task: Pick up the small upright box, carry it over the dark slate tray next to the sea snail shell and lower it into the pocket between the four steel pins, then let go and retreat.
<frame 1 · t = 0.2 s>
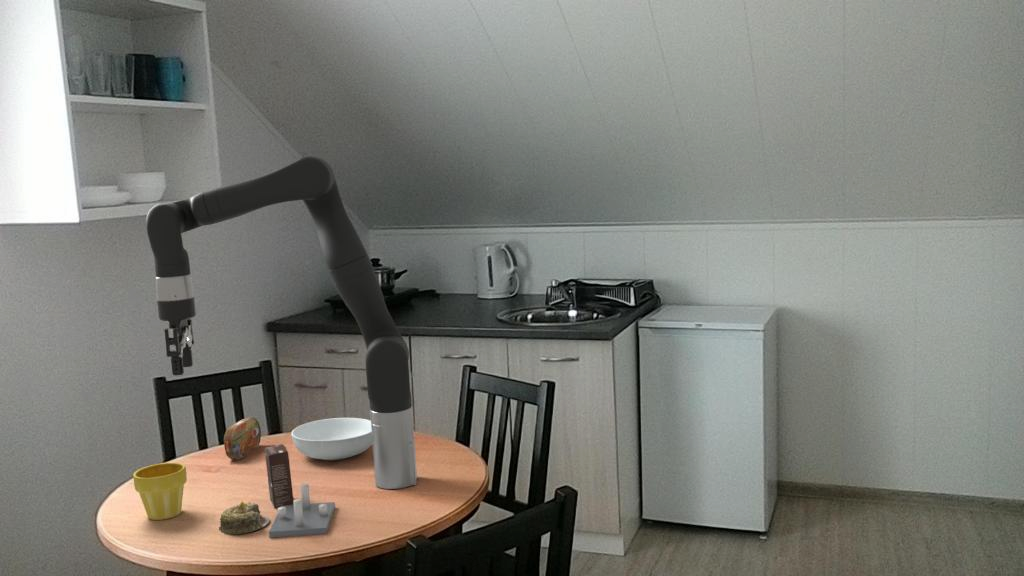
hand: (183, 370, 202), 29 cm above the table, tool pointing down, fingers open, 8 cm apart
pin tray: (303, 522, 188), on the table
box: (281, 504, 199), on the table
plant pot: (164, 515, 196), on the table
sea snail shell: (244, 527, 188), on the table
tin: (243, 454, 236), on the table
serving bowl: (336, 455, 231), on the table
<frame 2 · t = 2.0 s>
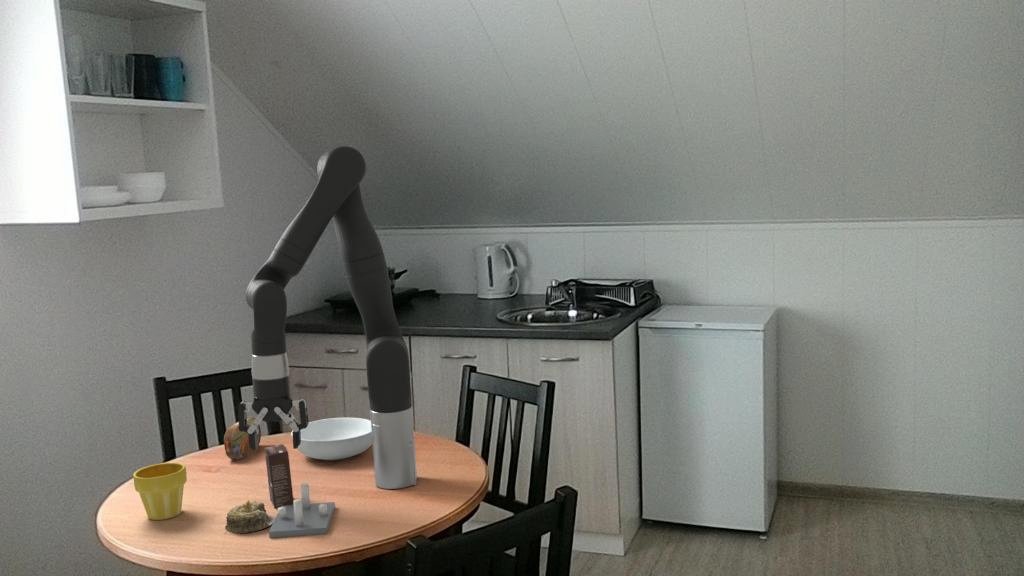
hand: (275, 448, 198), 12 cm above the table, tool pointing down, fingers open, 8 cm apart
sea snail shell: (250, 526, 188), on the table
everything else where it was.
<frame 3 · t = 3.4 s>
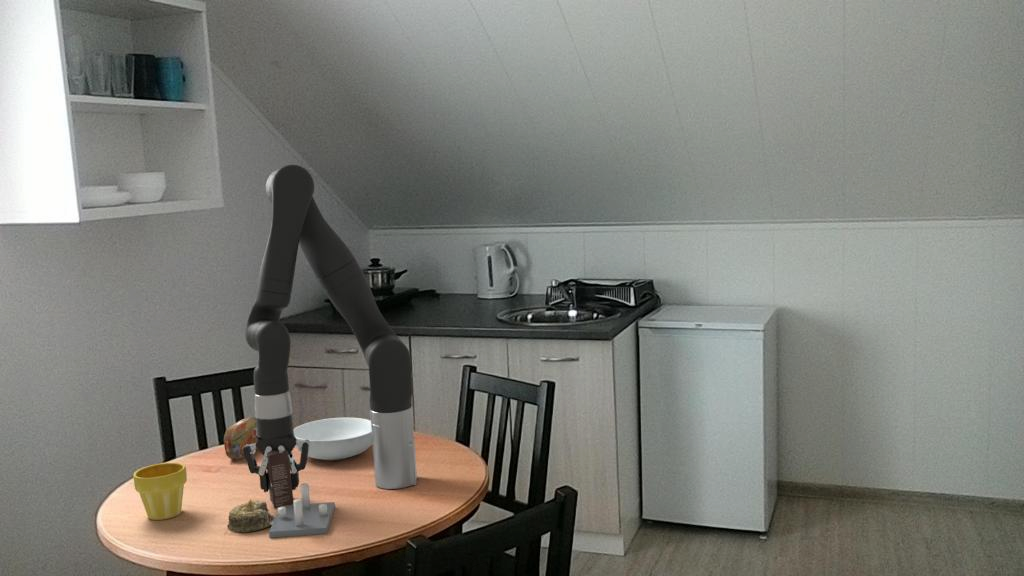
hand: (280, 489, 199), 3 cm above the table, tool pointing down, fingers closed on box, 5 cm apart
box: (281, 503, 199), on the table, touching gripper
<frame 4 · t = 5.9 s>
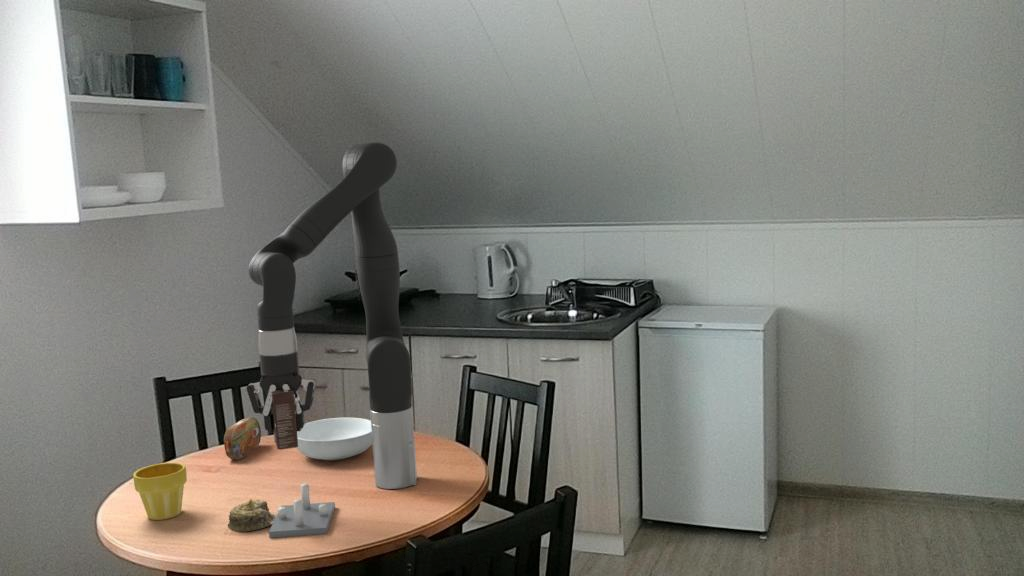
hand: (285, 430, 191), 17 cm above the table, tool pointing down, fingers closed on box, 5 cm apart
box: (285, 446, 192), point 14 cm above the table, touching gripper
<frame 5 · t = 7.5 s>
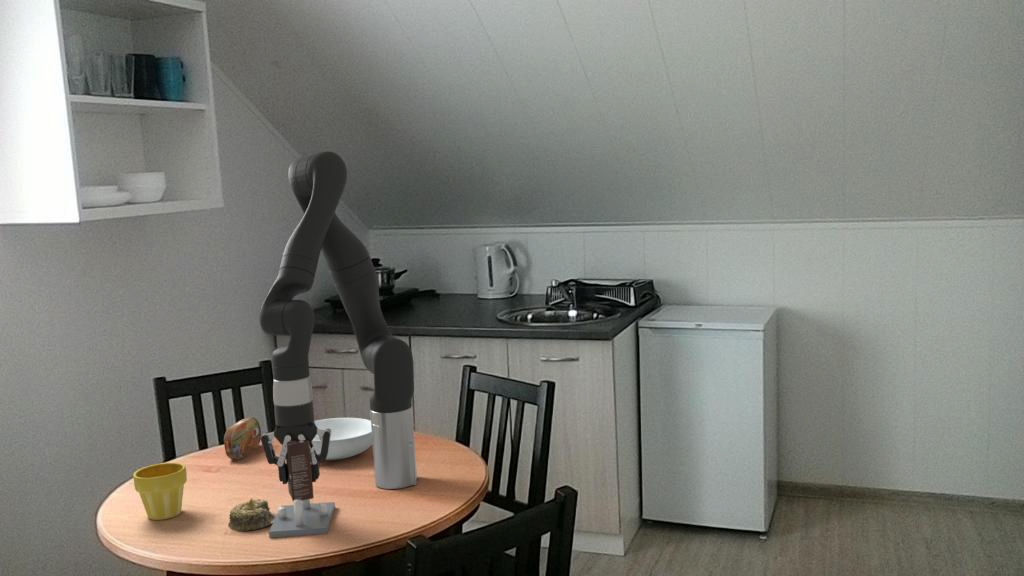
hand: (299, 481, 187), 8 cm above the table, tool pointing down, fingers closed on box, 5 cm apart
box: (300, 497, 187), point 5 cm above the table, touching gripper
when the fingers open (5 cm above the table, at t = 8.7 s): box stays where it is, resting on pin tray.
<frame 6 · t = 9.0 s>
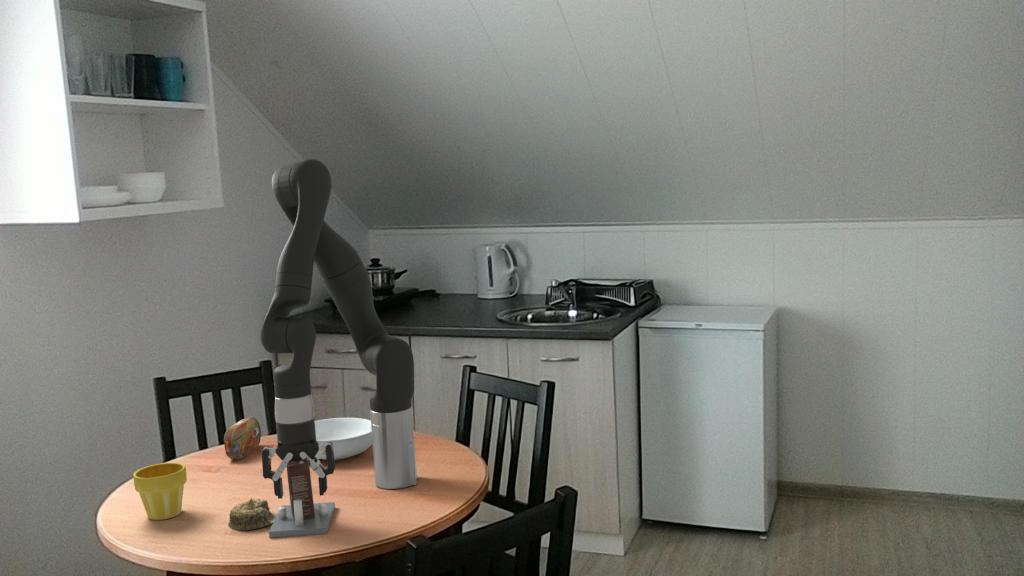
hand: (301, 495, 187), 6 cm above the table, tool pointing down, fingers open, 8 cm apart
box: (302, 517, 188), point 1 cm above the table, touching pin tray
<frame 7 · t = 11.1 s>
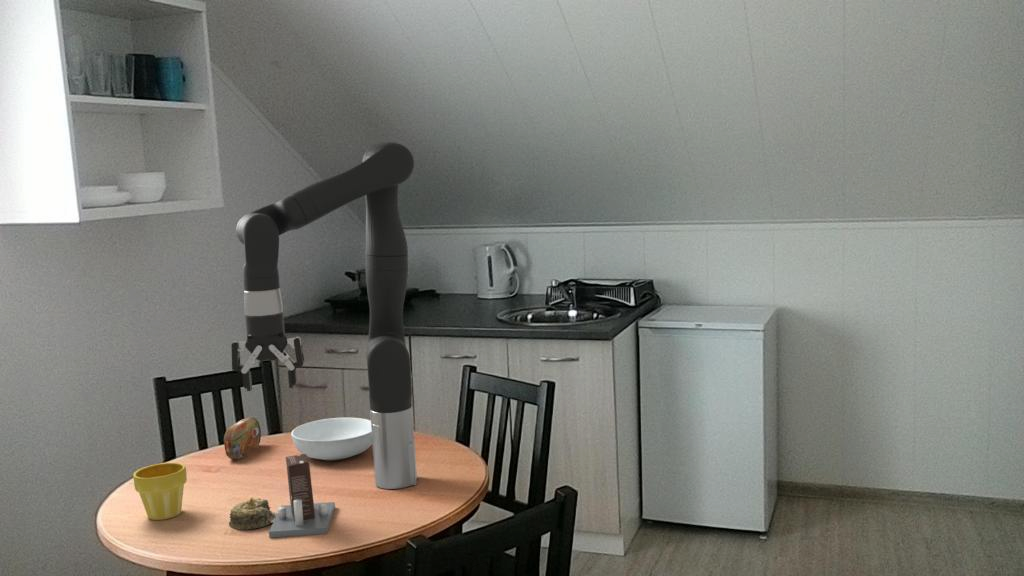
hand: (270, 388, 192), 26 cm above the table, tool pointing down, fingers open, 8 cm apart
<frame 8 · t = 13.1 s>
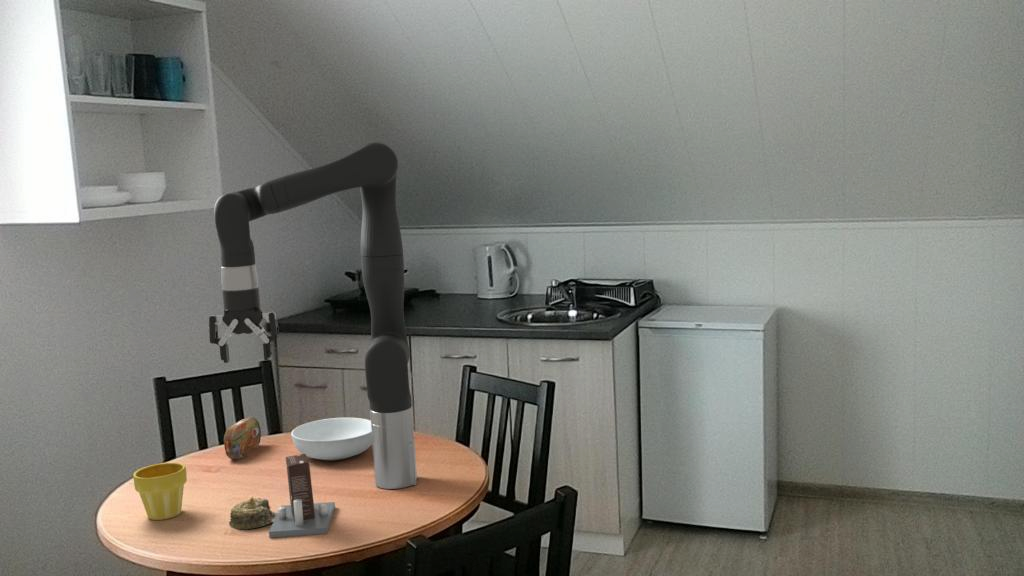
hand: (246, 361, 201), 30 cm above the table, tool pointing down, fingers open, 8 cm apart
at the end: box 0.1 cm from the pin tray (horizontally); box touching pin tray; box tilted 0° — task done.
